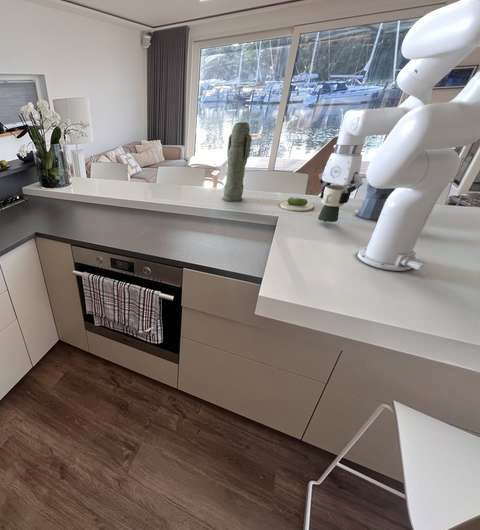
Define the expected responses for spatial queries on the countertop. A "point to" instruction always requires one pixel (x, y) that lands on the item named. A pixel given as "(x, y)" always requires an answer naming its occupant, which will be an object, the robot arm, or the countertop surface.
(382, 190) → the moka pot
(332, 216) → the character mug
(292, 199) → the pickle
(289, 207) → the plate
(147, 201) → the countertop surface
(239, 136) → the green cactus figure
